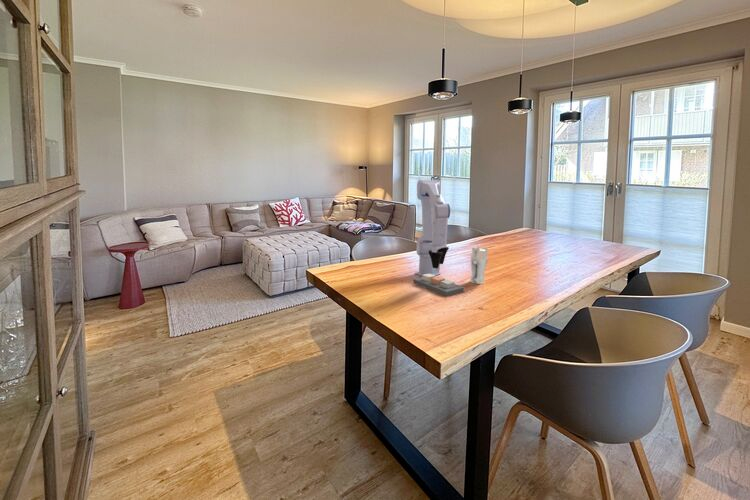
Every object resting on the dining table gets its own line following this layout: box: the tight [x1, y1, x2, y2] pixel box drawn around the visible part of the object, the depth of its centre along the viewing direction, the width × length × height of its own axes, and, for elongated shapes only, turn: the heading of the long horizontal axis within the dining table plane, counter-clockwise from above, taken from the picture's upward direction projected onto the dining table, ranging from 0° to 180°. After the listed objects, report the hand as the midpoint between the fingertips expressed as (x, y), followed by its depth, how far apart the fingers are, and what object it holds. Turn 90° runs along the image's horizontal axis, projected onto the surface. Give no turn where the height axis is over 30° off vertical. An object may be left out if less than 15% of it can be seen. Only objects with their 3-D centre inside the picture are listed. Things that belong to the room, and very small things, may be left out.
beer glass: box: [469, 247, 489, 285], centre depth 164 cm, size 7×7×15 cm
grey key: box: [440, 279, 456, 289], centre depth 152 cm, size 4×4×2 cm
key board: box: [412, 276, 465, 297], centre depth 157 cm, size 10×20×2 cm, turn 35°
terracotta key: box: [431, 276, 446, 285], centre depth 157 cm, size 4×4×2 cm
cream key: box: [421, 274, 437, 282], centre depth 161 cm, size 4×4×2 cm
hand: (438, 265), depth 155 cm, fingers open, 7 cm apart
